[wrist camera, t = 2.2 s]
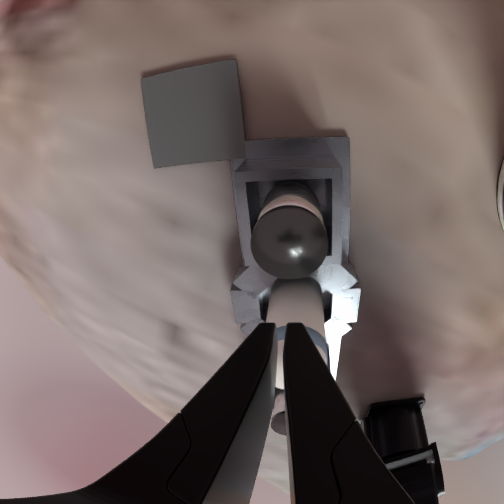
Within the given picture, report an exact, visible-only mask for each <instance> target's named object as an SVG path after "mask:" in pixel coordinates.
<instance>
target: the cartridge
mask: <svg viewBox="0 0 504 504" xmlns="http://www.w3.org/2000/svg"><path fill="white" fill-rule="evenodd" d="M266 322H274V323H275V324H276V327H277V341H278V357H277V371H276V385H275V387H277V388H280V389H284V378H283V347H284V339H285V331H286V324H287V323H289V322H301V323H303V324H304V326H305V327H306V329H307V331H308V333H309V335H310V336H311V338H312V340H313V342H314V343H315V345H316V347H317V349H318V351H319V352H320V354H321V356H322V358H323V359H324V361H325V363H326V365H327V362H328V357H327V344H326V339H325V324H324V311H323V299H322V289H321V286H320V284H319V283H318V282H317V281H316V280H315V279H313V278H312V277H302V278H298V279H281V278H277V279H276V280H275V282H274V283H273V285H272V287H271V293H270V299H269V305H268V312H267V318H266Z"/></svg>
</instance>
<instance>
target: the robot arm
mask: <svg viewBox="0 0 504 504" xmlns="http://www.w3.org/2000/svg"><path fill="white" fill-rule="evenodd" d="M277 357H278V341H277V327H276V324H275V323H274V322H261V323H259V324H258V325H257V326H256V327H255V329H254V330H253V331H252V332H251V333H250V334H249V336H248V337H247V338H246V339H245V340H244V341H243V342H242V344H241V345H240V346H239V347H238V348H237V349H236V350H235V352H234V353H233V354H232V355H231V356H230V357H229V358H228V360H227V361H226V362H225V363H224V364H223V365H222V366H221V367H220V368H219V370H218V371H217V372H216V373H215V374H214V375H213V376H212V377H211V378H210V380H209V381H208V382H207V383H206V384H205V385H204V386H203V387H202V388H201V389H200V390H199V391H198V393H197V394H196V395H195V396H194V397H193V398H192V399H191V400H190V401H189V402H188V403H187V404H186V405H185V406H184V408H183V409H182V410H181V413H178V414H177V415H176V416H175V417H174V418H173V419H172V420H171V421H170V422H169V423H168V424H167V425H166V426H165V427H164V428H163V429H162V430H161V431H160V432H159V433H158V434H157V435H156V436H154V437H153V438H152V439H151V440H150V441H149V442H147V443H146V444H145V445H144V446H143V447H141V448H140V449H139V450H138V451H136V452H135V453H134V454H133V455H131V456H130V457H129V458H127V459H126V460H125V461H123V462H122V463H121V464H119V465H118V466H117V467H115V468H114V469H112V470H111V471H110V472H108V473H107V474H106V475H104V476H103V477H101V478H100V479H98V480H97V481H95V482H94V483H92V484H90V485H88V486H86V487H84V488H81V489H79V490H76V491H72V492H67V493H60V494H54V495H47V496H38V497H27V498H14V499H0V504H249V502H250V498H251V495H252V491H253V487H254V484H255V480H256V476H257V472H258V468H259V465H260V461H261V457H262V453H263V448H264V444H265V440H266V436H267V432H268V428H269V423H270V419H271V414H272V410H273V405H274V397H275V385H276V371H277ZM283 378H284V400H285V418H286V433H287V448H288V463H289V480H290V498H291V504H439V503H438V497H439V496H442V495H444V494H445V493H444V492H445V491H444V481H443V474H442V469H441V464H440V459H439V454H438V450H437V446H436V442H434V443H431V444H430V445H429V444H428V439H427V434H426V429H425V425H424V420H423V416H422V412H421V409H422V408H423V406H424V404H425V402H426V401H425V398H417V399H410V400H403V401H395V402H386V403H376V404H372V405H370V407H369V409H368V412H367V415H366V417H364V418H363V420H362V423H361V426H360V424H359V422H358V421H356V417H355V415H354V413H353V411H352V410H351V408H350V406H349V404H348V402H347V401H346V399H345V397H344V395H343V393H342V392H341V390H340V388H339V386H338V384H337V383H336V381H335V379H334V377H333V375H332V374H331V372H330V370H329V368H328V367H327V365H326V363H325V361H324V359H323V358H322V356H321V354H320V352H319V351H318V349H317V347H316V345H315V343H314V342H313V340H312V338H311V336H310V335H309V333H308V331H307V329H306V327H305V326H304V324H303V323H301V322H289V323H287V324H286V331H285V339H284V347H283ZM432 461H433V463H431V462H432Z"/></svg>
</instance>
